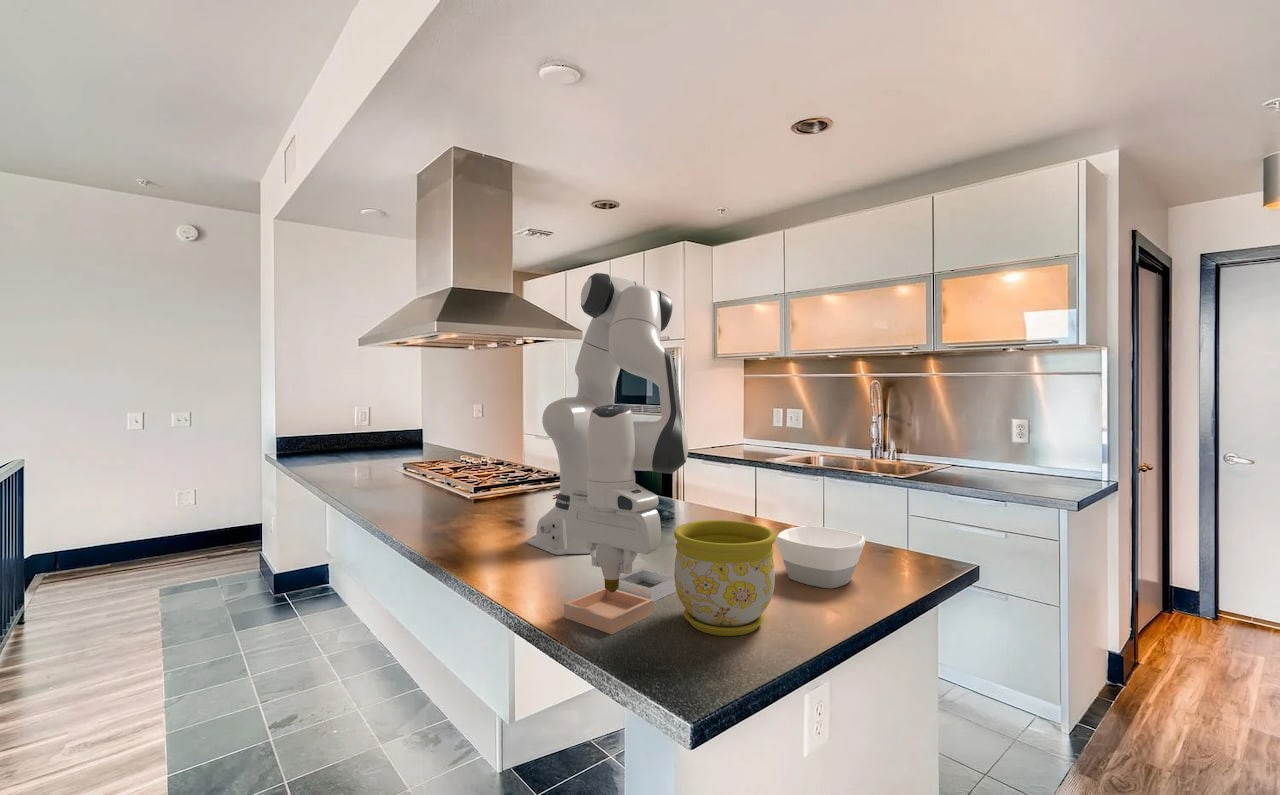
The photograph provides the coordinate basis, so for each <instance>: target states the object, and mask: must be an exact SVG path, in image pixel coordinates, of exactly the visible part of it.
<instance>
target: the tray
mask: <svg viewBox="0 0 1280 795" xmlns="http://www.w3.org/2000/svg"><path fill="white" fill-rule="evenodd" d="M652 615H654V602H653V600H651V599H648V598H644V597H641V596H637V595H634V594H630V593H627V592H623V591H620V590H616V591H615V592H609V591H608V590H607V589H605V586H604V587H602V588H600V589H596V590H594V591H592V592H590V593H587V594H584V595H582V596H579V597H577V598H574V599H572V600H570V601H567V602H565V603H563V618H564V619H567V620H569V621H572V622H575V623H578V624H582V625H584V626H587V627H590V628H592V629H596V630H598V631H601V632H604V633H607V634H609V635H614V634H615V633H617V632H619V631H622V630H624V629H626V628H629V627H630V626H632V625H634V624H636V623H638V622H640V621H642V620H644V619H646V618H648V617H650V616H652Z"/></svg>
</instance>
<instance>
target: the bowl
mask: <svg viewBox="0 0 1280 795" xmlns="http://www.w3.org/2000/svg"><path fill="white" fill-rule="evenodd" d="M775 542H776V544H777V546H778V550H779V554H780V556H781V559H782V562H783V564H784V566H785V570H786V573H787V576H788V578H789V579H790V580H792V581H795V582H797V583H799V584H802V585H803V584H804V585H806V586H812V587H817V588H821V589H822V588H823V589H828V590H831V589H836V588H841V587H843V586H845V585H848V584H849V583H850V582H851V581H852V578H853V575H854V573H855V570H856V567H857V564H858V562H859V560H860V558H861V555H862V552H863V550H864V547H865V543H866V538H865V535H862V534H860V533H859V534H858V533H855V532H851V531H847V530H843V529H838V528H832V527H824V526H813V525H804V526H803V525H801V526H796V527H795V526H794V527H791V528H786V529H784V530H782V531H780V532H779V533H778V535H777V536H776V540H775Z"/></svg>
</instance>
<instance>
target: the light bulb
mask: <svg viewBox="0 0 1280 795" xmlns="http://www.w3.org/2000/svg"><path fill="white" fill-rule="evenodd" d="M626 557H627V556H625V555H624V550H623V549H619V548H614V547H611V546H610V545H608V544H606V543H601V544H599V545H598V547H597V549H596V560H597V562H598V564H599V565H600V567H599V568H601V572H602V576H603V577H604V578H603V579H604V587H605V589H607V590H608V591H609V592H615V591H616V590H617V589H618V588H619V577H620V576H622V573H621V572H620V563H624V561H625V559H626Z"/></svg>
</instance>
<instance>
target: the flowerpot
mask: <svg viewBox="0 0 1280 795" xmlns="http://www.w3.org/2000/svg"><path fill="white" fill-rule="evenodd" d="M673 537H674V539H675V540H676V544H675V549H676V555H675V561H674V569H673V571H674V572H673V574H674V575H673V576H674V578H675V587H676V593H677V596H678V598H679V601H680V602H681V605H682V606H683V607H684V609H683V610H684V611H683V617H684V618H685V619H686V620H687V621H688V622H689V624H690V625H691V626H692V627H693V628H694V629H696V630H698V631H701V632H703V633H706V634H708V635H714V636H723V637H731V636H733V637H735V636H742V635H746V634H747V635H748V634H750V633H752V632H754V631H755V630H757V629H758V627H759V626H760V625H761V624H762V623H764V621H765V615H764V612H765V610H766V609H767V607H768V606H769V604H770V603H771V600H772V598H773V595H774V594H773V593H774V590H775V579H776V575H775V574H776V572H775V571H776V570H775V563H774V556H773V555H774V552H775V549H774V547H773V544H774V543H775V542H776V538H777V536H776V533H775V531H773V530H772V529H771V528H769V527H766V526H765V525H761V524H757V523H752V522H747V521H746V522H745V521H739V520H727V519H726V520H724V519H723V520H722V519H711V520H710V519H708V520H697V521H690V522H686V523H683V524H681V525H678V526H677V527H676V528H675V529H674V530H673Z"/></svg>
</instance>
